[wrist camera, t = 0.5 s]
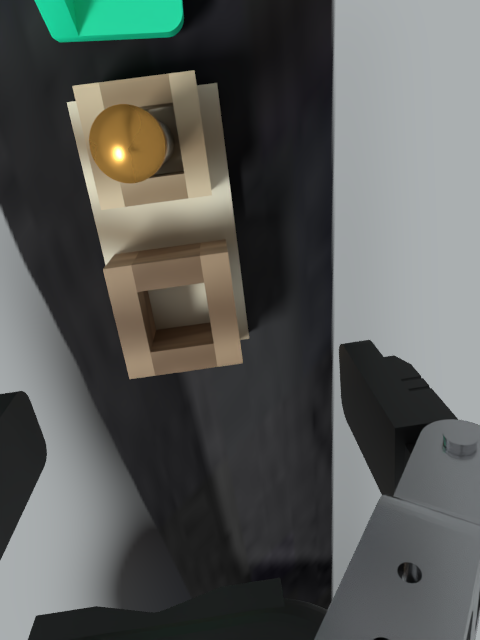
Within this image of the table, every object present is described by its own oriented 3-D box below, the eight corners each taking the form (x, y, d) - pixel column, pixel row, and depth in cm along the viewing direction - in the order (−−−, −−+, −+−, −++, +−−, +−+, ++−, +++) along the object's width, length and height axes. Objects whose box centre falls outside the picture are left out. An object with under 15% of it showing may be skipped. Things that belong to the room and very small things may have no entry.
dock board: (69, 95, 30) (43, 87, 25) (215, 76, 30) (217, 64, 25) (129, 350, 37) (118, 380, 32) (248, 333, 37) (254, 361, 32)
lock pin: (119, 118, 30) (80, 109, 20) (172, 111, 30) (156, 99, 20) (131, 172, 31) (98, 188, 22) (181, 166, 31) (170, 178, 22)
